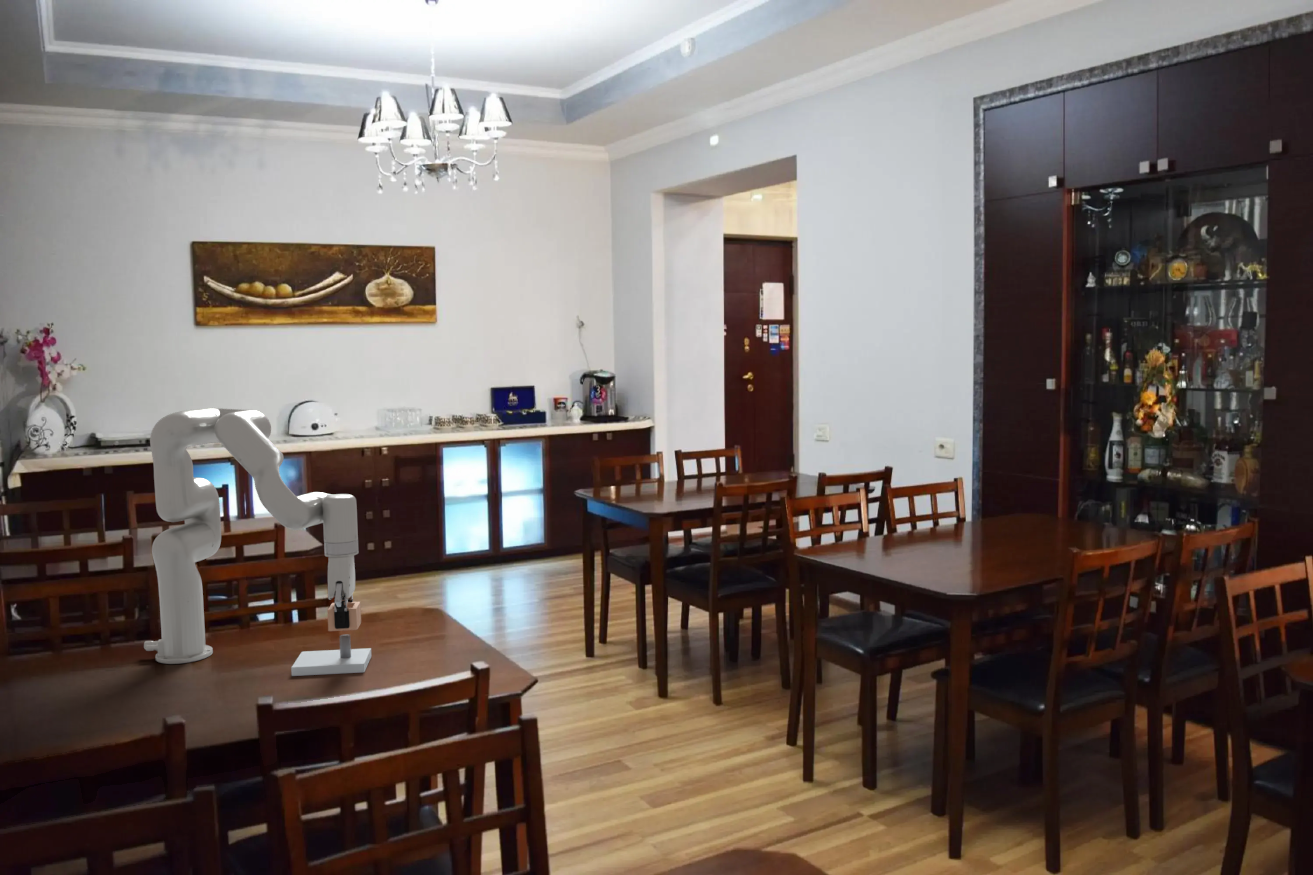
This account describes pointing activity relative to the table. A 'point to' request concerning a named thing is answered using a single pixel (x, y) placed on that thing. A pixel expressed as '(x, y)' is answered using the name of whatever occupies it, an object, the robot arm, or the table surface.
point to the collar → (354, 616)
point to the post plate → (332, 660)
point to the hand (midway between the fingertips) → (344, 623)
